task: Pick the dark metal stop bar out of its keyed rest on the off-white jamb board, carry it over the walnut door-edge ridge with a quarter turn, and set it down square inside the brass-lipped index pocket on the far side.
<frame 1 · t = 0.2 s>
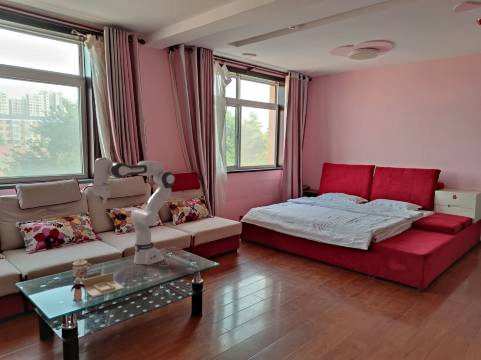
hand: (101, 202, 232), 47 cm above the table, fingers open, 8 cm apart
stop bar: (93, 280, 217), point 1 cm above the table, touching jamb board
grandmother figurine: (78, 300, 192), on the table
teacup with lid: (82, 276, 227), on the table
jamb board: (98, 285, 212), on the table
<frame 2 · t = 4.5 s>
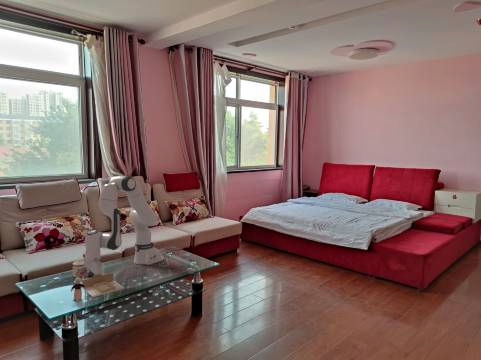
hand: (93, 277, 217), 3 cm above the table, fingers closed on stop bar, 4 cm apart
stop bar: (93, 280, 217), point 1 cm above the table, touching gripper, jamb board
everything else where it was.
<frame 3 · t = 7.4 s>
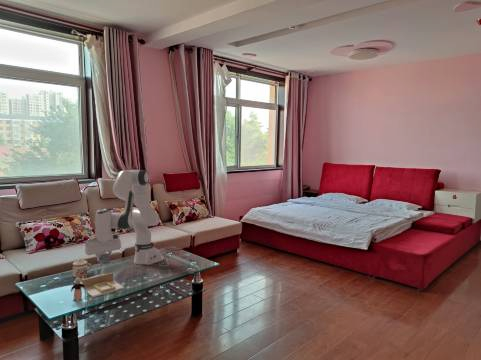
hand: (103, 259, 204), 18 cm above the table, fingers closed on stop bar, 4 cm apart
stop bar: (103, 262, 205), point 17 cm above the table, touching gripper
everything else where it was.
when the fingers open (5 cm above the table, at t = 10.6 s): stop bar drops 2 cm, resting on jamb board.
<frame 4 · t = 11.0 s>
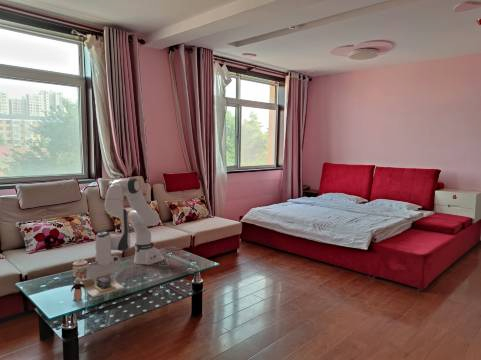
hand: (103, 282, 206), 5 cm above the table, fingers open, 8 cm apart
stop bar: (104, 287, 206), point 1 cm above the table, touching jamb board
everything else where it was.
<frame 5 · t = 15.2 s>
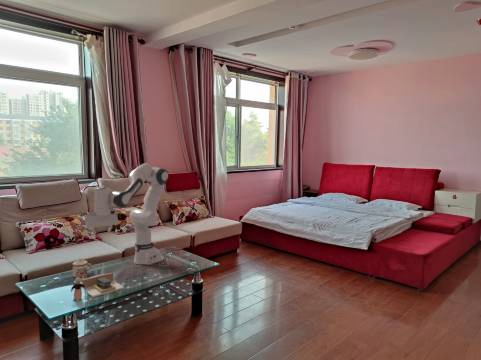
hand: (102, 233, 224), 29 cm above the table, fingers open, 8 cm apart
nothing on the table moved.
at the end: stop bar 0.2 cm from the target spot on the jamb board, point 1.0 cm above the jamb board's base; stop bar tilted 0°; the gripper is holding nothing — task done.
